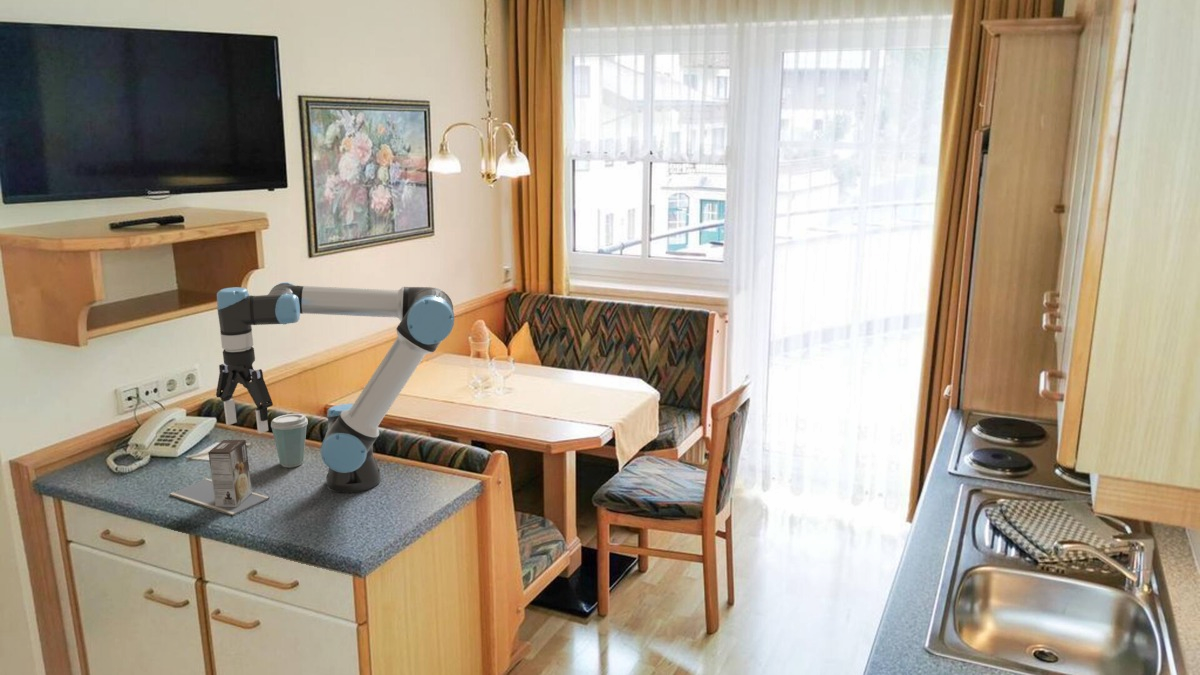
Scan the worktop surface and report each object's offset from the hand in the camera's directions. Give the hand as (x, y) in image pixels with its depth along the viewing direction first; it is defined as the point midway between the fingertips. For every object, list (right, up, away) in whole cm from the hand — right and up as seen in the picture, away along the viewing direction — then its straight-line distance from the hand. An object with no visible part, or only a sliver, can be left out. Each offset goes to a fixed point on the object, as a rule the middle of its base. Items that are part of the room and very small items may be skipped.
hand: (247, 427), depth 237 cm
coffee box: (-7, -21, +10) cm, 24 cm away
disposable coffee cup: (0, -15, +36) cm, 39 cm away
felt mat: (-13, -20, +13) cm, 27 cm away
